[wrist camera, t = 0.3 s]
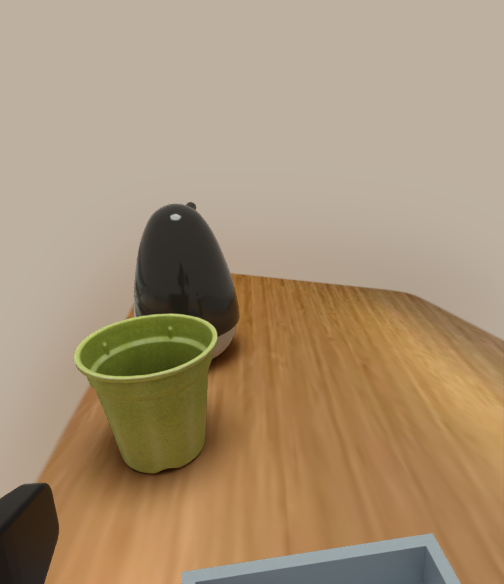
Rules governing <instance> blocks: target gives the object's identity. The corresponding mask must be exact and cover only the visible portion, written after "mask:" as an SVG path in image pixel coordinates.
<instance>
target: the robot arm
mask: <svg viewBox="0 0 504 584" xmlns="http://www.w3.org/2000/svg"><path fill="white" fill-rule="evenodd" d="M58 535H59V523H58V518H57V513H56V508H55V504H54V499H53V494H52V490H51V488H50V486H49V485H48V484H46V483H32V484H23V485H21V486H19V487H17V488H16V489H14V490H13V491H11V492H10V493H8V494H7V495H5V496H4V497H2V498H1V499H0V584H44V583H45V579H46V576H47V573H48V569H49V566H50V563H51V560H52V556H53V553H54V550H55V546H56V543H57V540H58Z"/></svg>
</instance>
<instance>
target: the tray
mask: <svg viewBox="0 0 504 584" xmlns="http://www.w3.org/2000/svg"><path fill="white" fill-rule="evenodd" d="M182 584H461V583H460V582H459V580H458V578H457V576H456V574H455V573H454V571H453V569H452V567H451V566H450V564H449V562H448V560H447V558H446V557H445V555H444V553H443V551H442V550H441V548H440V546H439V544H438V543H437V541H436V539H435V537H434V535H433V534H432V533H431V534H424V535H418V536H411V537H405V538H398V539H392V540H385V541H379V542H373V543H366V544H360V545H353V546H347V547H340V548H334V549H327V550H321V551H314V552H308V553H302V554H295V555H289V556H282V557H276V558H269V559H263V560H256V561H250V562H244V563H237V564H231V565H224V566H218V567H211V568H205V569H198V570H192V571H186V572H182Z"/></svg>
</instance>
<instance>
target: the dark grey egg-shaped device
mask: <svg viewBox="0 0 504 584" xmlns="http://www.w3.org/2000/svg"><path fill="white" fill-rule="evenodd" d="M155 314H183V315H188V316H193V317H197V318H200V319H203V320H205V321H207V322H209V323H210V324H211V325H212V326H213V327H214V328H215V329H216V332H217V344H216V347H215V348H214V350H213V351H212V359H213V358H215V357H217V356H218V355H220V354H221V353H222V352H223V351H224V350H225V349H226V348H227V347H228V345H229V344H230V342H231V341H232V338H233V336H234V333H235V329H236V324H237V323H238V321H239V306H238V300H237V296H236V292H235V288H234V285H233V281H232V278H231V274H230V271H229V269H228V266H227V263H226V261H225V258H224V255H223V253H222V251H221V248H220V246H219V244H218V241H217V240H216V237H215V236H214V234H213V232H212V230H211V228H210V227H209V225H208V224H207V222H206V221H205V220H204V219H203V217H202V216H201V215H200V214H199V213H198V212H197V211H196V205H195V204H194V203H192V202H189V203H187V204H186V205H182V204H170V205H166V206H164V207H162V208H160V209H158V210H157V211H156V212H155V213H153V215H152V216H151V217H150V219H149V220H148V222H147V225H146V227H145V229H144V232H143V235H142V238H141V242H140V246H139V251H138V257H137V264H136V272H135V283H134V317H140V316H148V315H155Z"/></svg>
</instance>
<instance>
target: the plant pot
mask: <svg viewBox="0 0 504 584" xmlns="http://www.w3.org/2000/svg"><path fill="white" fill-rule="evenodd" d="M216 344H217V332H216V329H215V328H214V327H213V326H212V325H211V324H210V323H209V322H207V321H205V320H203V319H200V318H197V317H193V316H188V315H183V314H155V315H148V316H140V317H135V318H130V319H126V320H123V321H120V322H117V323H114V324H111V325H109V326H106V327H103V328H101V329H99V330H97V331H96V332H94V333H92V334H91V335H89V336H88V337H87V338H86V339H84V340H83V341H82V342H81V343H80V345H79V346H78V347H77V349H76V351H75V355H74V361H75V364H76V367H77V368H78V370H79V371H80V372H81V373H82V374H84V375H85V376H87V378H88V381H89V383H90V385H91V386H92V387H93V388H94V389H95V390H96V392H97V394H98V397H99V399H100V402H101V404H102V406H103V409H104V411H105V414H106V416H107V419H108V421H109V424H110V426H111V429H112V432H113V434H114V437H115V440H116V442H117V445H118V448H119V450H120V453H121V455H122V458H123V460H124V461H125V463H126V464H127V465H128V466H129V467H131V468H132V469H134V470H137V471H140V472H144V473H158V472H159V471H161V470H164V469H167V468H180V467H182V466H184V465H186V464H188V463H189V462H191V461H192V460H193V459H194V458H195V457H196V456H197V455H198V454H199V453H200V452H201V450H202V449H203V446H204V444H205V436H206V406H207V387H208V370H209V366H210V363H211V360H212V351H213V350H214V348H215V347H216Z"/></svg>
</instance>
